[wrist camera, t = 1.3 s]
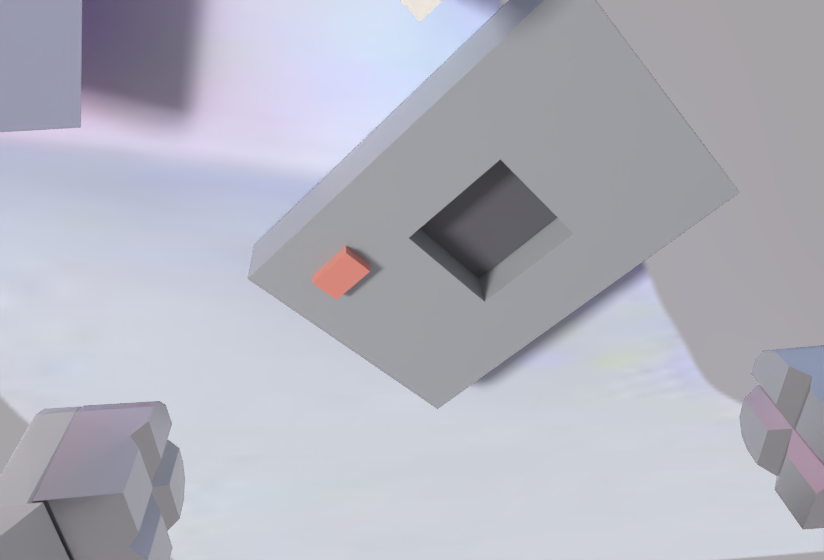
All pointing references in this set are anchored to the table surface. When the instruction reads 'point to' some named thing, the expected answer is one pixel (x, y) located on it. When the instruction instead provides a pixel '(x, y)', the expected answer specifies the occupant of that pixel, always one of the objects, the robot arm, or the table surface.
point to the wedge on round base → (40, 64)
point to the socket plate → (493, 200)
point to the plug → (420, 7)
